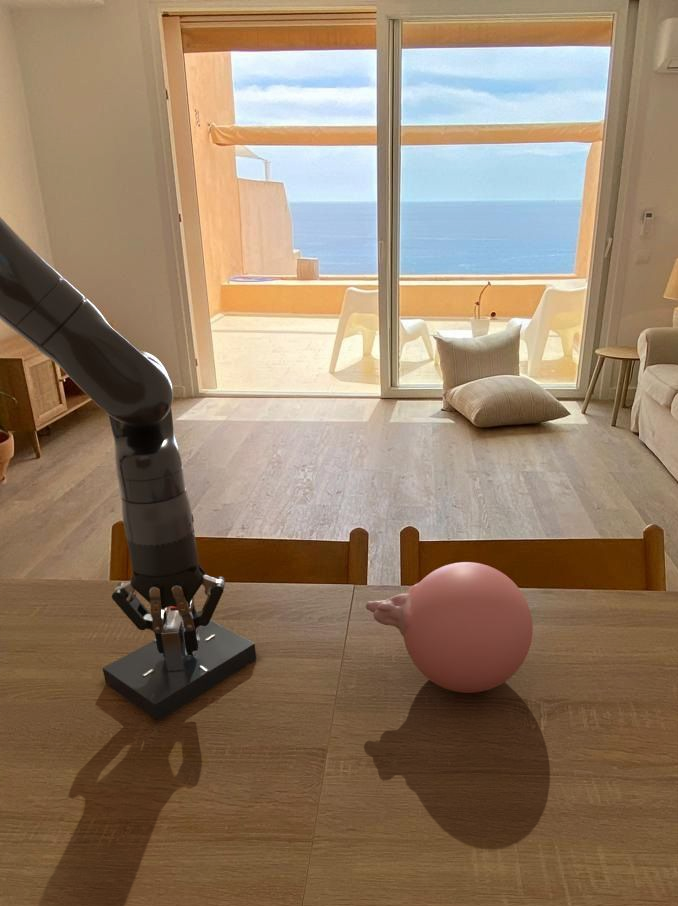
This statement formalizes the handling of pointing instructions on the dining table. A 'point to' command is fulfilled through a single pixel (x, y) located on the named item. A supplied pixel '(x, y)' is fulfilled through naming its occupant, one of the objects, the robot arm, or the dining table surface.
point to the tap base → (170, 690)
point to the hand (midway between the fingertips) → (180, 652)
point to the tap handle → (174, 641)
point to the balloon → (462, 626)
